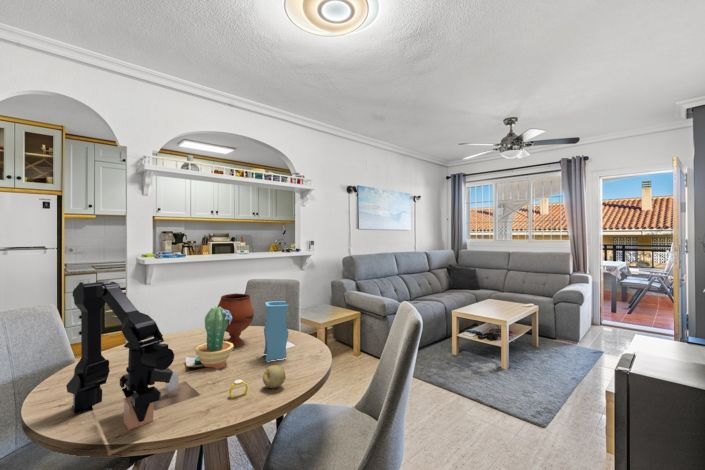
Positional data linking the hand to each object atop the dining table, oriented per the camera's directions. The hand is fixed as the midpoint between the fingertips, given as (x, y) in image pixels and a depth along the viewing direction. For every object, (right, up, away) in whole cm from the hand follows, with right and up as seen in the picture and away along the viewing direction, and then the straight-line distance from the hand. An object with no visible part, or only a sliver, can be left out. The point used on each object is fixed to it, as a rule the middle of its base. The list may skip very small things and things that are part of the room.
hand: (138, 416), depth 93 cm
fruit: (+34, -4, +25) cm, 42 cm away
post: (+1, -1, +16) cm, 16 cm away
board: (+1, -2, +16) cm, 16 cm away
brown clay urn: (+2, -3, +71) cm, 71 cm away
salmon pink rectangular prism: (0, -1, 0) cm, 1 cm away
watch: (+23, -3, +16) cm, 29 cm away
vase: (+27, -4, +54) cm, 61 cm away
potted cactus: (+3, -3, +43) cm, 44 cm away
